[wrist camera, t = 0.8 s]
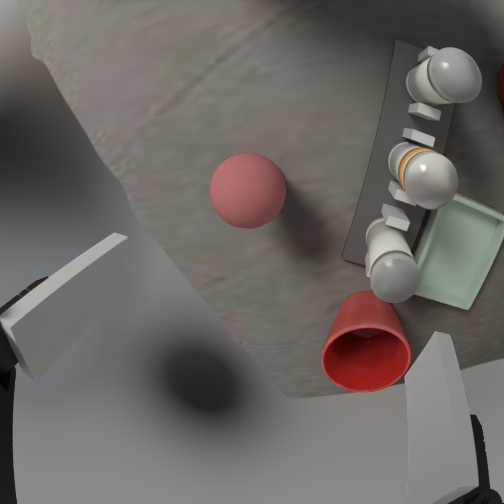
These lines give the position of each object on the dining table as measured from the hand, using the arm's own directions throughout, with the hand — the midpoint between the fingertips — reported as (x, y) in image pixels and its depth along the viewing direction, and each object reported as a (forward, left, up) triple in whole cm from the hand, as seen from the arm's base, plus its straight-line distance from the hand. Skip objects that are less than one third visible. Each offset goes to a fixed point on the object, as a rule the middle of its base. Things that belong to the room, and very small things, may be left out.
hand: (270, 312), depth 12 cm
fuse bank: (-5, +9, -26) cm, 28 cm away
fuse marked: (-5, +9, -25) cm, 27 cm away
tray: (+3, +19, -26) cm, 32 cm away
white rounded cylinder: (-14, +9, -25) cm, 30 cm away
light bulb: (+1, -6, -26) cm, 27 cm away
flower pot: (+16, +11, -26) cm, 33 cm away
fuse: (+4, +9, -25) cm, 27 cm away
